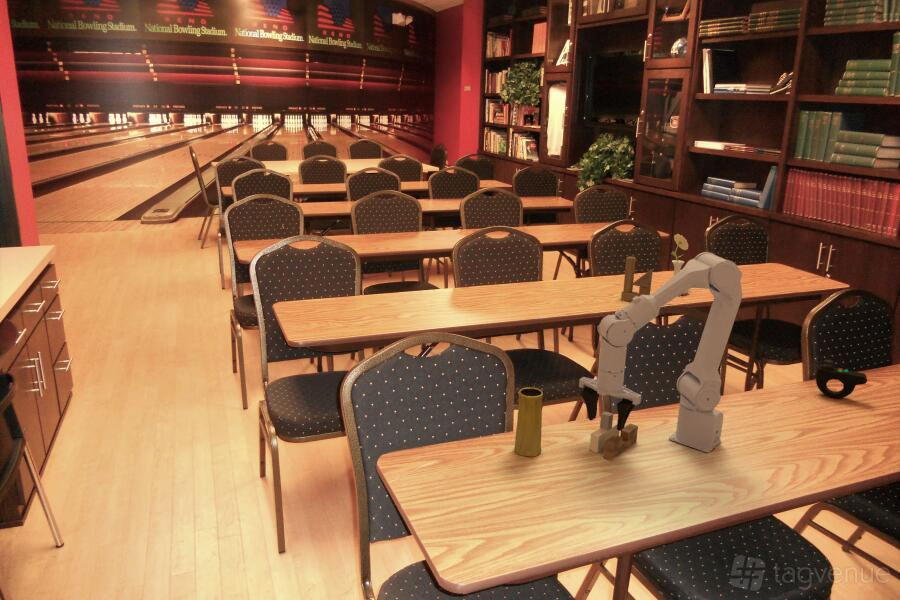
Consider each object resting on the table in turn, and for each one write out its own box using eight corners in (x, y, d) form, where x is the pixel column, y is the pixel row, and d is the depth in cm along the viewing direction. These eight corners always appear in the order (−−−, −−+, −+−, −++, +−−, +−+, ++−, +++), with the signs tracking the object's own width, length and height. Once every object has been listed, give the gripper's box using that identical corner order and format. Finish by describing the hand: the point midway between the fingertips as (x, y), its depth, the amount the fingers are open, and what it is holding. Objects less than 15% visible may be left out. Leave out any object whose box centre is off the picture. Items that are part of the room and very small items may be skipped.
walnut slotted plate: (628, 438, 156) (630, 423, 155) (636, 441, 155) (638, 426, 154) (603, 457, 147) (604, 441, 146) (611, 460, 146) (612, 444, 145)
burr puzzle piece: (611, 434, 158) (614, 405, 156) (618, 437, 157) (621, 408, 154) (589, 449, 151) (592, 419, 149) (597, 452, 149) (600, 422, 147)
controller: (811, 389, 186) (817, 356, 184) (862, 400, 180) (869, 365, 177) (810, 394, 183) (816, 360, 180) (862, 405, 177) (869, 370, 174)
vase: (509, 446, 151) (512, 388, 148) (533, 442, 154) (536, 385, 150) (521, 459, 146) (524, 399, 142) (546, 454, 148) (550, 395, 144)
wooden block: (646, 305, 265) (650, 261, 260) (620, 300, 271) (624, 257, 266) (649, 303, 268) (654, 259, 263) (624, 298, 274) (628, 255, 269)
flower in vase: (692, 296, 279) (699, 238, 272) (664, 296, 279) (671, 237, 272) (682, 288, 291) (689, 232, 284) (656, 288, 291) (662, 231, 285)
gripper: (573, 364, 150) (569, 419, 154) (632, 382, 141) (626, 440, 145) (589, 356, 155) (585, 410, 159) (647, 373, 146) (641, 429, 150)
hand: (606, 423), depth 152 cm, fingers open, 7 cm apart
